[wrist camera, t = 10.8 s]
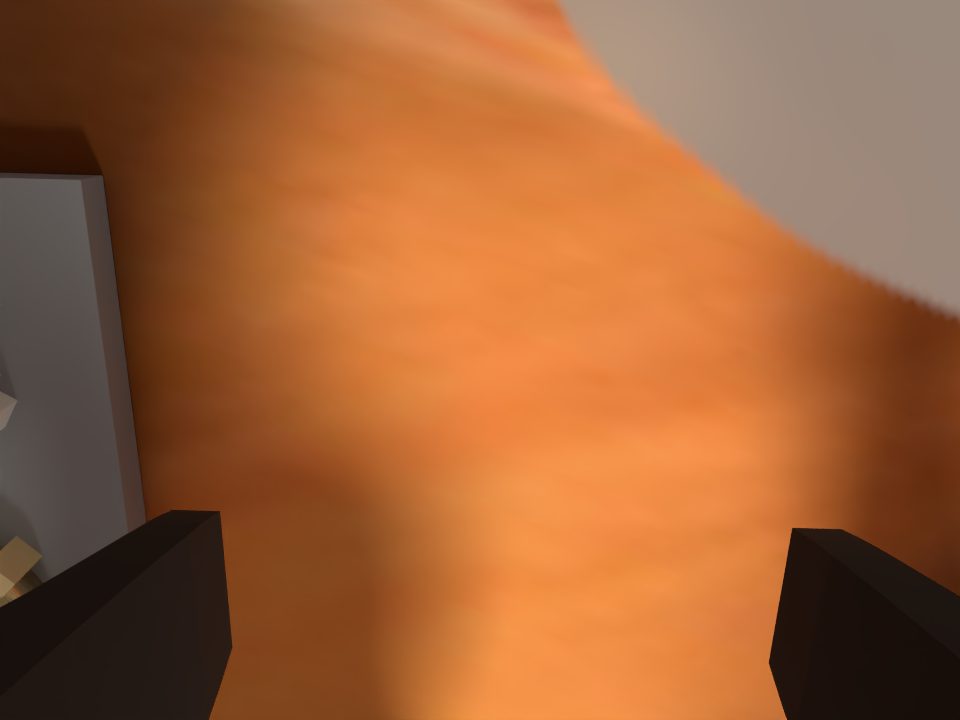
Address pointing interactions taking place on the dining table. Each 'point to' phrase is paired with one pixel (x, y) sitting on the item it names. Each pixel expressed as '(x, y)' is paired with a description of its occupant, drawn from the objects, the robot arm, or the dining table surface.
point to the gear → (6, 408)
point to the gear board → (61, 382)
